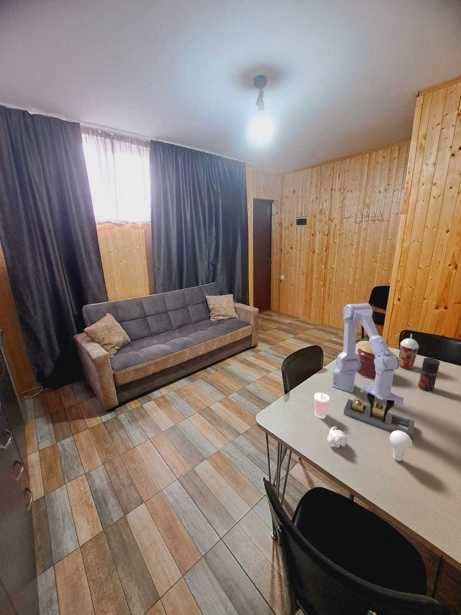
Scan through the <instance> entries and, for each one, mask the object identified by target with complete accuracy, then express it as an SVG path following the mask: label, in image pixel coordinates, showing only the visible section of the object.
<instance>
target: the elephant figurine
mask: <svg viewBox="0 0 461 615" xmlns="http://www.w3.org/2000/svg"><path fill="white" fill-rule="evenodd" d="M349 436H350V435H349V434H348V435H346V434H345V433H344V431H342V430H340V429H337V426H332V427H331V428H329V433H328V436H327V437H326V440H327V443H328V444H330V445H332V444H335V448H338V449H339V448H340V447H341V448H345V447H346V445H347V443H348V438H347V437H349Z"/></svg>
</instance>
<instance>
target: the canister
mask: <svg viewBox="0 0 461 615" xmlns="http://www.w3.org/2000/svg"><path fill="white" fill-rule="evenodd" d="M357 355H358V356H359V357H360V364H361V367H360V369H359V370H357V372H356V373H357V374H359V375H361V376H363V377H366V378H371V379H375V377H376V371H375V364H374V359H375V356H374V353H373V351H372V349H371V347H370V345H369V342H368V343H363V344H361V345H359V348H357Z"/></svg>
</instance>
